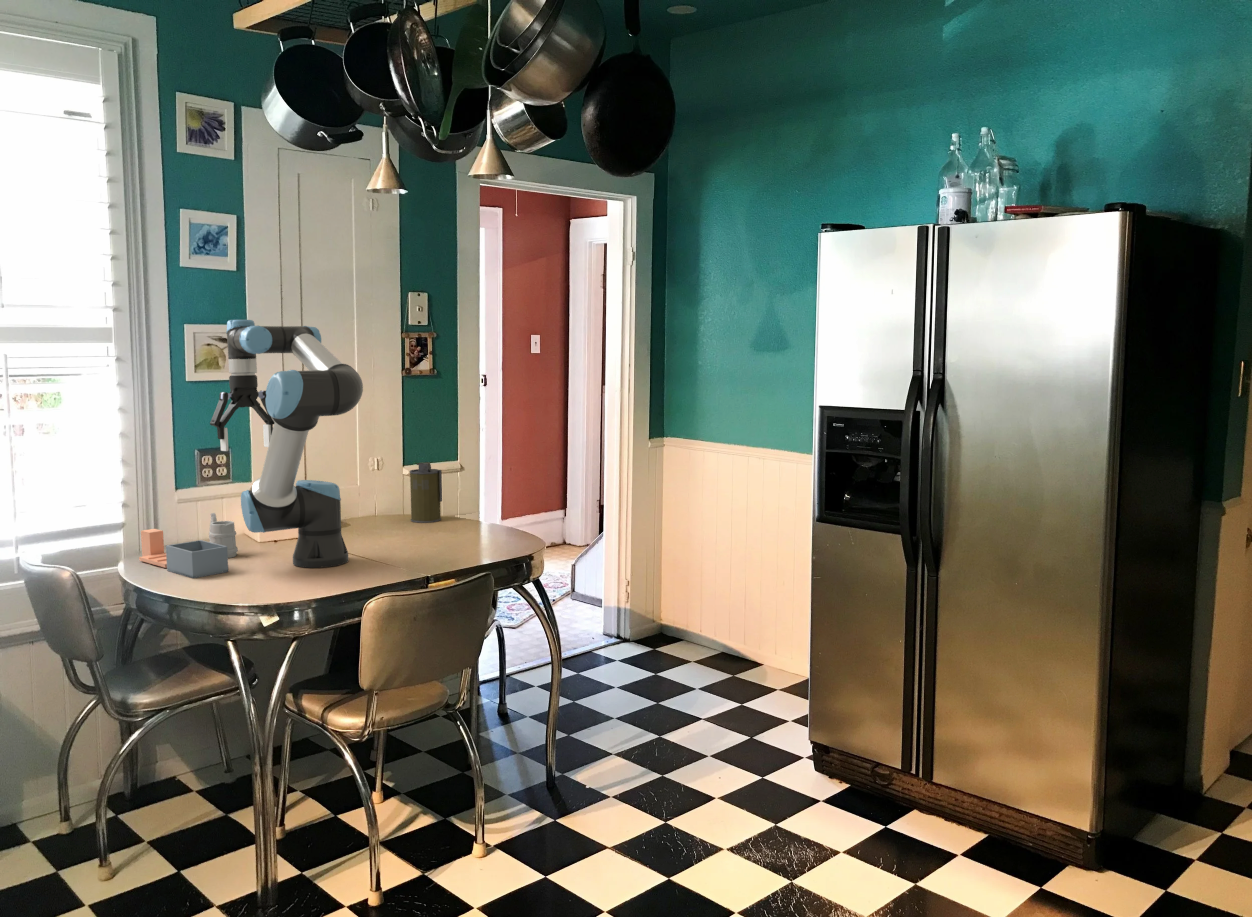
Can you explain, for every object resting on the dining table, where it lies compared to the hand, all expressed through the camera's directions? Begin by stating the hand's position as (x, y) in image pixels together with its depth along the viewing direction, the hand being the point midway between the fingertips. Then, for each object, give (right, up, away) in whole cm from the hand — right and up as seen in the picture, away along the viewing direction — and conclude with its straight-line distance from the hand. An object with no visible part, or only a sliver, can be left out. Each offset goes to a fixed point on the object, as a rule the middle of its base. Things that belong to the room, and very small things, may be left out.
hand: (246, 449), depth 298 cm
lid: (-22, -32, -2) cm, 39 cm away
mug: (-10, -31, +6) cm, 33 cm away
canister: (+39, -24, +63) cm, 78 cm away
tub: (-8, -33, -15) cm, 37 cm away
